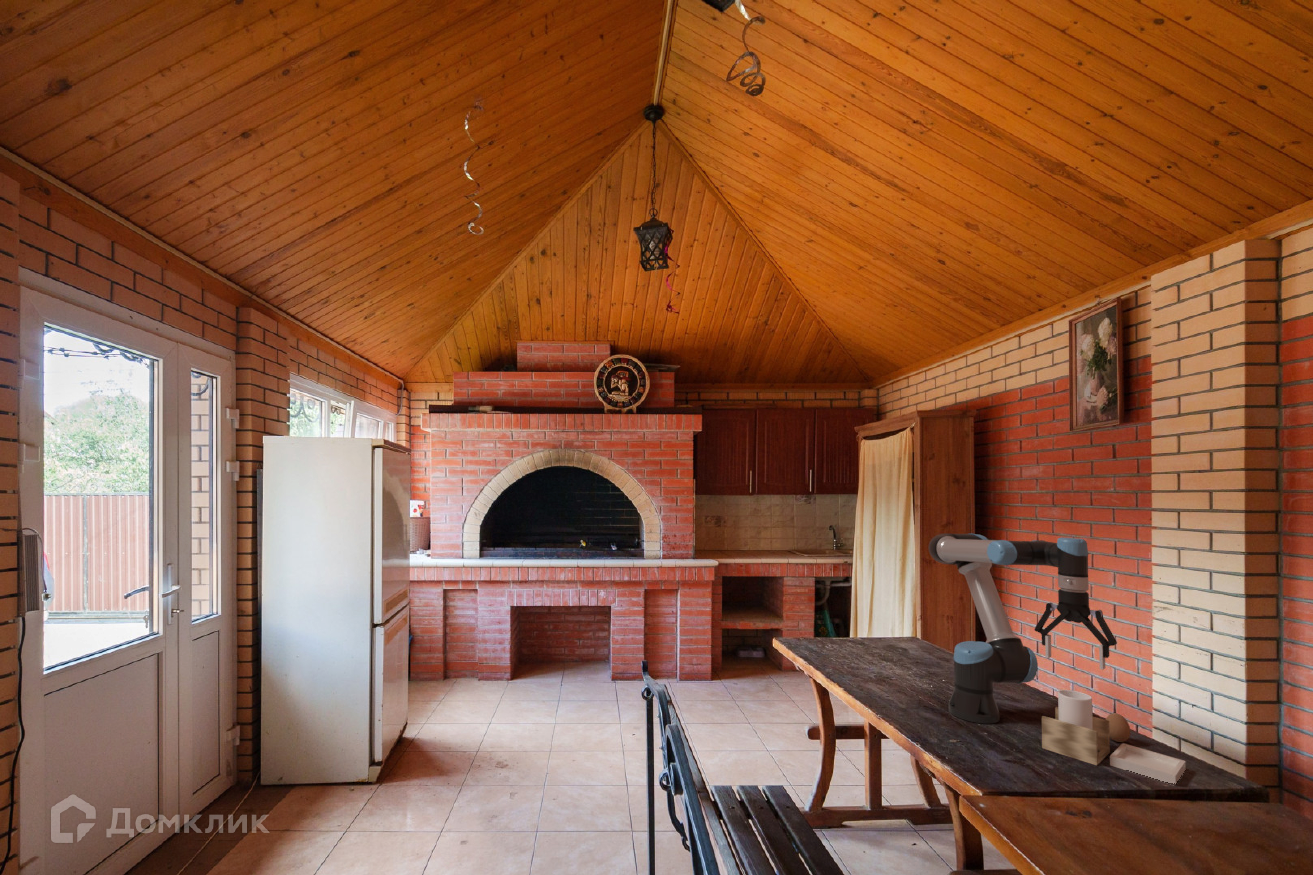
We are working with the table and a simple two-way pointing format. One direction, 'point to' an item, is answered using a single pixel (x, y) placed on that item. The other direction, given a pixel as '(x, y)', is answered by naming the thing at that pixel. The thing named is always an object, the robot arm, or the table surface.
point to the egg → (1118, 727)
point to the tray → (1148, 763)
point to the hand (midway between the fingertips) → (1074, 662)
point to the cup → (1075, 708)
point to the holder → (1076, 739)
